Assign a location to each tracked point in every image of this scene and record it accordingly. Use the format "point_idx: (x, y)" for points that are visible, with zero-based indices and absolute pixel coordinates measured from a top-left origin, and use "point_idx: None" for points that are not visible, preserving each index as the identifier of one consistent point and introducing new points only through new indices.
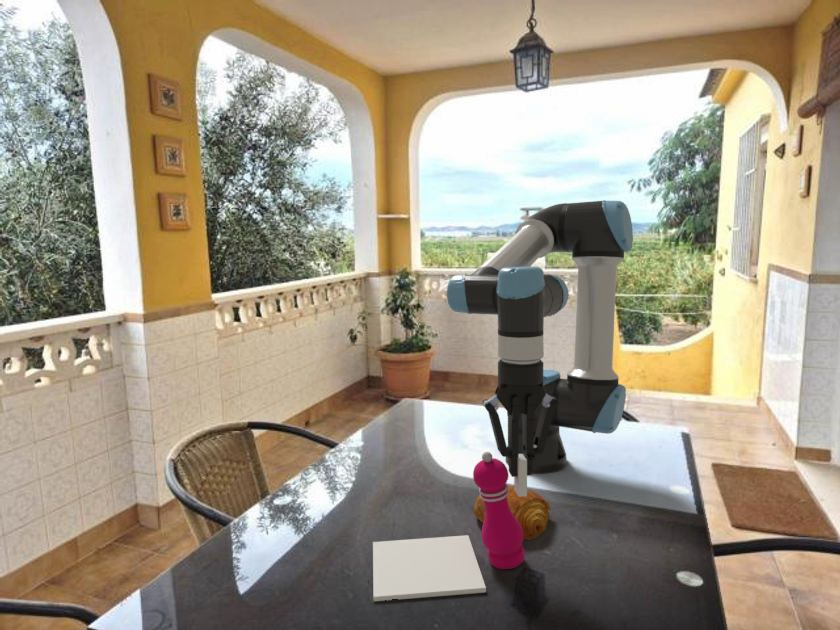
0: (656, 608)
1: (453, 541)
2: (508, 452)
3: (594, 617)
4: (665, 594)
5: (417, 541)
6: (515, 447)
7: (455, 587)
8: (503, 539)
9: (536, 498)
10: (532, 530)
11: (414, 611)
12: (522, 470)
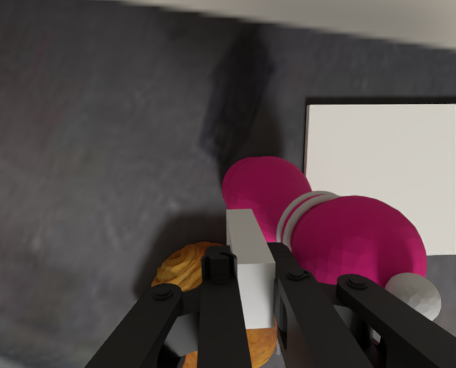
0: (34, 25)
1: None
2: (330, 296)
3: (149, 16)
4: (4, 60)
5: None
6: (308, 304)
7: (358, 111)
8: (279, 161)
9: None
10: (190, 246)
11: (426, 72)
12: (249, 242)
